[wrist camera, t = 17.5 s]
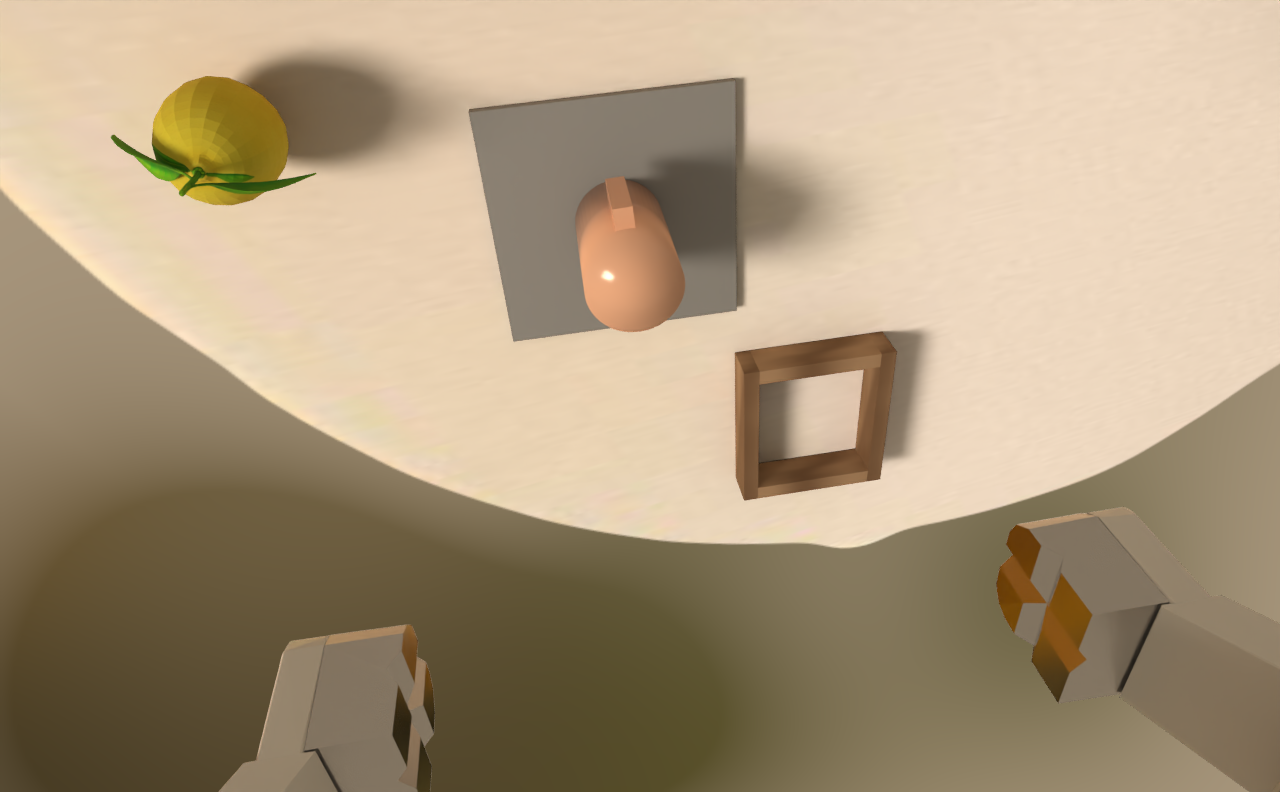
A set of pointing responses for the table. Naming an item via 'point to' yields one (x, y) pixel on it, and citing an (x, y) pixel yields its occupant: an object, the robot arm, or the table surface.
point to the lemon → (218, 142)
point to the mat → (582, 159)
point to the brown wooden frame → (803, 363)
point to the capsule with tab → (627, 257)
